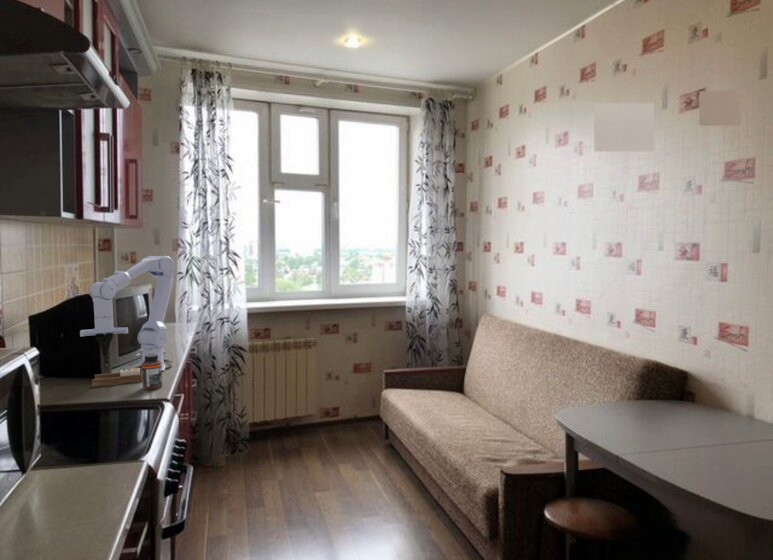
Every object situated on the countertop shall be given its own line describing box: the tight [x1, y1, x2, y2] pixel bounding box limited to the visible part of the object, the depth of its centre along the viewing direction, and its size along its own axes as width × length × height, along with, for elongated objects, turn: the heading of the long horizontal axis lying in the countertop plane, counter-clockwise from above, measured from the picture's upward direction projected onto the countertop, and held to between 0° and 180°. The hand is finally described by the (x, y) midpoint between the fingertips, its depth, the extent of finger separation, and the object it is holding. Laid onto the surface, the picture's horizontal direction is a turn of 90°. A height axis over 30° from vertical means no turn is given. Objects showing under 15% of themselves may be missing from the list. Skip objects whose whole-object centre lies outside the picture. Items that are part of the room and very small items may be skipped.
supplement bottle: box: [141, 354, 163, 391], centre depth 172 cm, size 6×6×11 cm
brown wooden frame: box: [91, 370, 143, 388], centre depth 180 cm, size 7×16×2 cm, turn 113°
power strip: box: [119, 367, 141, 376], centre depth 181 cm, size 3×6×4 cm, turn 113°
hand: (105, 355), depth 177 cm, fingers closed
